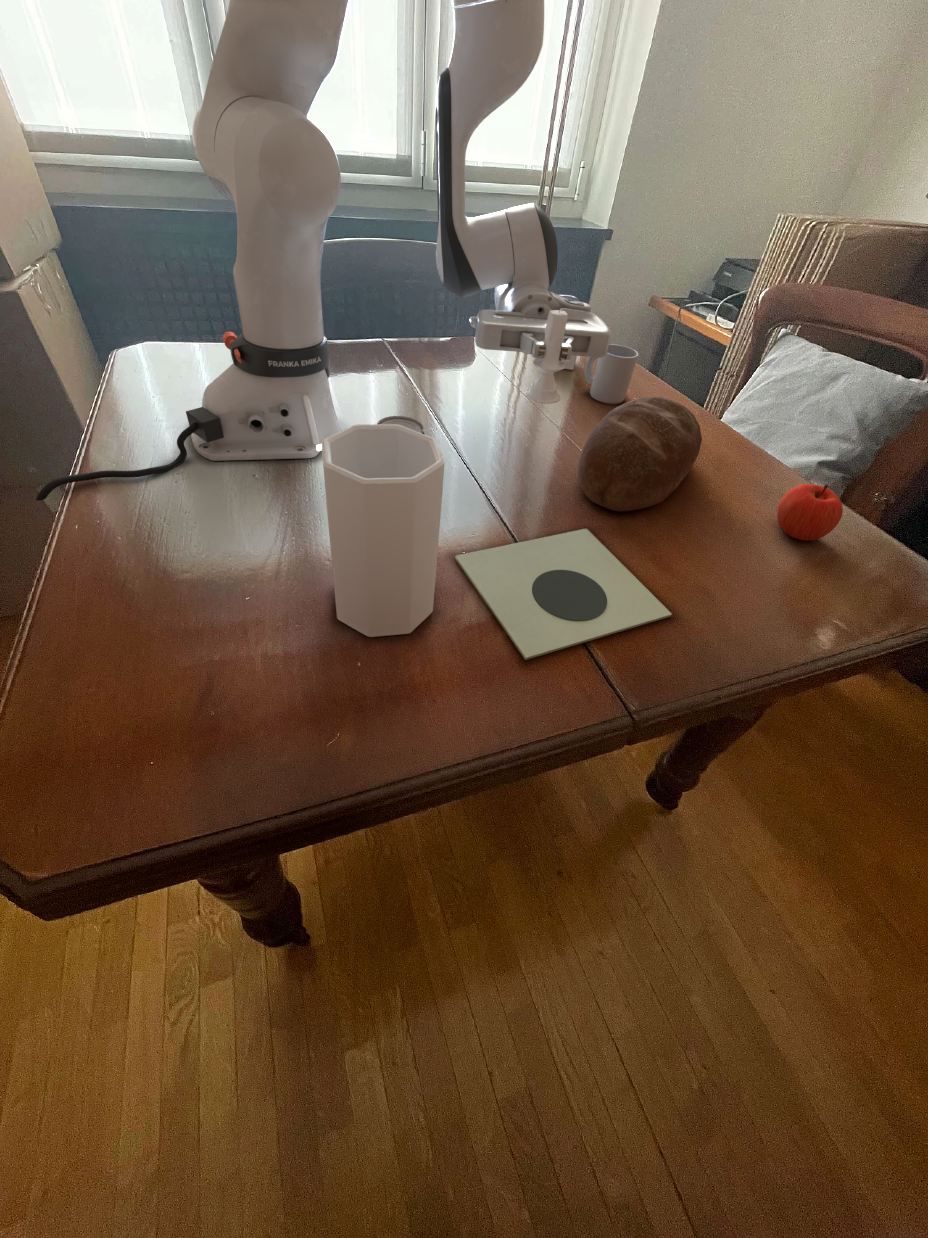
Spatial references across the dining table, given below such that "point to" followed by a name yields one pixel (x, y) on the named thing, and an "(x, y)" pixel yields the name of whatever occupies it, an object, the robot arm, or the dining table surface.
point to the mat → (559, 591)
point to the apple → (809, 511)
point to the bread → (639, 454)
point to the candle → (549, 360)
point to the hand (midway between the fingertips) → (553, 353)
